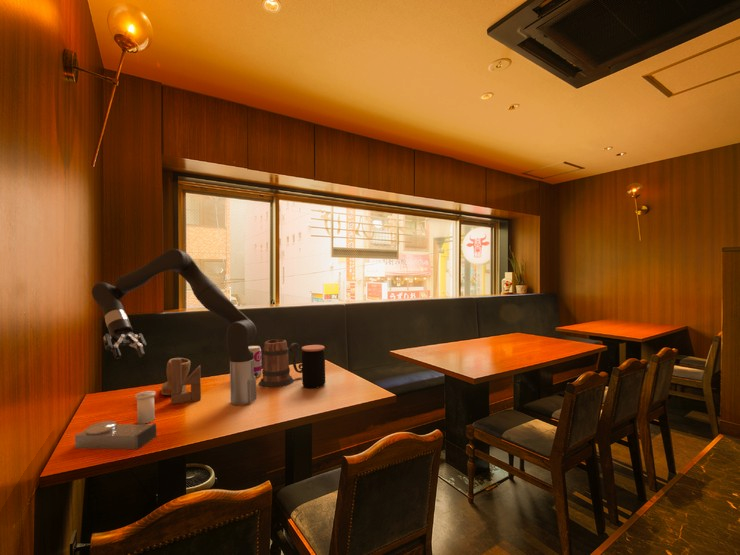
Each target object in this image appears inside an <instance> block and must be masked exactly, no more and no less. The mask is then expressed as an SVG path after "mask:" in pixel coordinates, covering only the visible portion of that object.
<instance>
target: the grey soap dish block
mask: <svg viewBox="0 0 740 555" xmlns="http://www.w3.org/2000/svg"><path fill="white" fill-rule="evenodd" d="M153 438H154V439H155V438H157V423H156V422H153V423H151V424H125V423H124V424H121V423H120V424H117V422H116V420H115V421H114V420H107V421H106V420H104V421H100V422H96V423H94V424H91V425H89V426H87V427H86V428H85V430H83V431H81V432H78V433H77V434H75V435H74V449H84V450H85V449H94V450H95V449H98V450H99V449H101V450H139V449H141V448H142V447H144V446H145V445H147V444H148V443H150V442H151V441H152V440H154V439H153ZM150 440H151V441H150Z"/></svg>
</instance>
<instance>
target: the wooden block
mask: <svg viewBox="0 0 740 555" xmlns="http://www.w3.org/2000/svg"><path fill="white" fill-rule="evenodd" d="M174 358H175V359H172V358H171V359H172V360H171V367H172V395H170V399H171V400H170V402H171V403H170V404H171V405H177V404H176V403H178V404H183V403H184V402H185V403H189V402H190V403H191V402H192V401H193V402H198V400H199V401H201V399H202V388H201V384H202V382H201V364H199V365H198V366H197V367H196V368H195V369H194V370H193V371H192V372H191V374H188V376H187V377H186V380H185V381H184V382H183V383H182V371H181V358H182V357H174ZM184 385H186V386H189V385H190V391H185V392H182V386H184Z"/></svg>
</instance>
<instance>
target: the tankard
mask: <svg viewBox="0 0 740 555" xmlns="http://www.w3.org/2000/svg"><path fill="white" fill-rule="evenodd" d="M295 346H296V347H295ZM295 348H296V349H295ZM294 350H295V351H294ZM289 352H290V353H292V354H293V356H292V366H293V369H294V371H295V372H296V373H299V374H302V363H299V364H298V367H297V356H298V354H299V352H300V345H299V343H297V342H293V343H291V344H290V345H289V347H288V342H287V340H286V339H269V340H267V341H265V342H264V345H263V349H262V354H263V355H262V356H263V357H262V358H263V360H262V374H261V375H262V377H261V379H260V381H259V382H258V386H259V387H261V386H262V387H261V388H265V387H268V388H269V389H274V388H275V389H276V387H277V388H282V387H283V386H284V387H287V386H291V385H292V384H293V383H294V382H295V380H294V378H293V377H292V375H290V374H291V368H290V360H289ZM284 387H283V388H284ZM268 388H267V389H268Z"/></svg>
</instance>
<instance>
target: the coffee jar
mask: <svg viewBox="0 0 740 555" xmlns="http://www.w3.org/2000/svg"><path fill="white" fill-rule="evenodd" d="M325 348H326V347H325V346H324V345H322V344H311V345H310V344H309V345H304V346H301V351H302V352H301V364H302V366H301V368H302V373H301V377H302V379H301V380H302V381H301V382H302V383H301V384H302V386H303V387H304V388H305V389H308V390H309V389H311V390H313V389H319V388H322V387H324V386H325V384H326V355H325V354H326V351H325Z"/></svg>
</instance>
